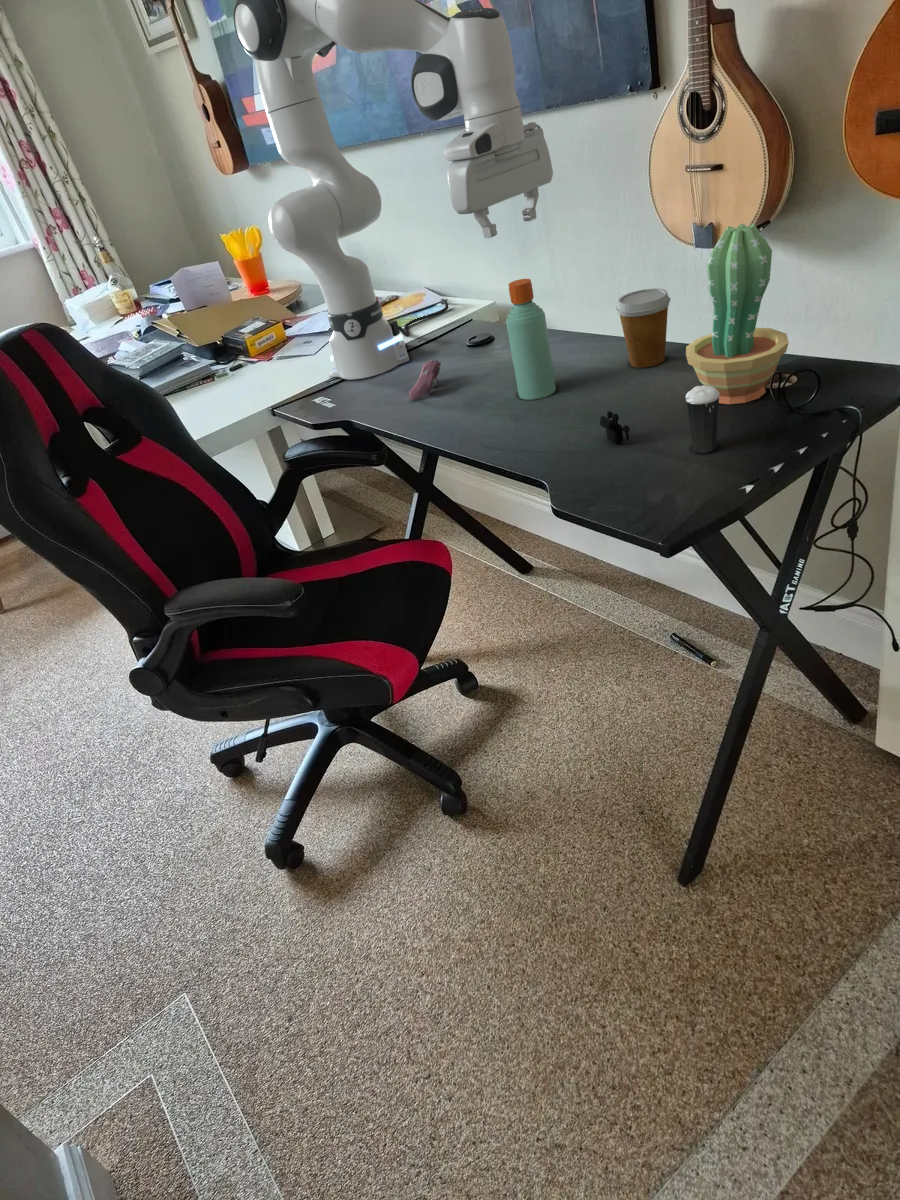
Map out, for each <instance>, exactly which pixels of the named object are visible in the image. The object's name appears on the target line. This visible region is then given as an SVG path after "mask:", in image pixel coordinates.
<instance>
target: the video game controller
mask: <svg viewBox="0 0 900 1200" xmlns="http://www.w3.org/2000/svg"><path fill="white" fill-rule="evenodd" d="M441 366H442V362H441V361H439V360H435V359H429V360H427V361H426V362H425V363H423V365H422V366H421V371H420V373H419V375H418V379H417V381H416V383H415V384H414V385H413V387H411V389H410V390H409V392H408V397H409V399H410V400H411V401H419V400H420V399H421V398H423V397H424V396H425V395H430V394H431V392H432V390H433V389H434V388H435V386H436V385H437V384H438V383H437V379H438V376H439V374H440V371H441Z"/></svg>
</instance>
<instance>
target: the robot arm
mask: <svg viewBox="0 0 900 1200" xmlns="http://www.w3.org/2000/svg"><path fill="white" fill-rule="evenodd" d="M233 8H234V9H233V25H234V26H233V27H234V30H235V34H236V36H237V39H238V41H239V43H240V45H241V47H242V48H243V49H244V51H245V53H246V54H247V55H248V56H249V57H251V58H252V59H253V60H254V65H255V72H256V77H257V83H258V88H259V92H260V96H261V97H260V98H261V100H262V104H263V107H264V111H265V114H266V117H267V120H268V123H269V127H270V129H271V132H272V136H273V138H274V141H275V145H276V148H277V151H278V153H279V155H280V156H281V158H282V159H283V160H284V161H285V162H286V163H288V164H289V165H292V166H294V167H298V168H301V169H303V170H304V171H305V172H306V173H307V175H308V176H309V177H310V179H311V181H312V183H313V185H311V186H307V187H304V188H301V189H298V190H294V191H293V192H290V193H288V194H286V195H285V196H283V197H281V198H280V199H278V200H277V201H275V202H274V203H272V204H271V206H270V209H269V212H268V226H269V231H270V232H271V236H272V238H273V239H274V241H275V243H277V244H278V246H280V248H282V249H283V250H285V252H288V253H290V254H292V255H294V256H296V257H298V258H299V259H301V260H302V261H303V262H304V263H305V264H306V266H307V267H309V269H310V271H312V273H313V274H314V276H315V278H316V280H317V283H318V285H319V287H320V290H321V294H322V296H323V299H324V302H325V305H326V308H327V314H326V315H327V318H328V319H327V321H328V323H329V326H330V329H331V330H332V334H331V336H329V337H330V338H329V339H328V343H329V348H330V352H331V355H330V362H333V365H334V368H333V369H331V370H330V376H331V377H332V378H340V379H343V380H351V381H352V380H362V379H366V378H367V379H368V378H371V377H375V376H377V375H380V374H384V373H386V372H388V371H390V370H392V369H394V368H396V367H398V366H399V365H402V364H405V363H407V362H409V361H410V356H409V353H408V351H407V347H406V344H405V341H404V340H403V336H405V337H408V336H409V330H408V327H409V326H411V325H413V324H415V323H417V322H421V321H424V320H426V319H429V318H433V317H437V316H439V315H442V314H444V313H445V312H447V311H448V310H449V303H448V301H447V300H446V299H445V298H441V299H440V304H441V305H444V308H442V309H440V310H437V311H434V312H432V313H428V314H425V315H422V316H423V317H421V316H419V317H420V318H418V317H416V318H417V319H415V318H413V319H414V320H413V319H411V320H412V321H411V320H409V321H410V322H409V321H408V322H409V323H407V322H406V323H407V324H406V323H405V324H404V325H403V326H400V325H399V324H398V320H387V319H386V318H385V317H384V312H383V310H382V309H383V308H382V305H381V304H380V301H379V298H378V296H376V291H375V289H374V285H373V282H372V278H371V273H370V269H369V267H368V266H367V264H366V263H365V262H364V261H362V260H361V259H360V258H358V257H355V256H351V255H347V254H345V252H344V251H343V250H342V248H341V246H340V242H339V240H340V239H343V238H346V237H349V236H351V235H354V234H356V233H360V232H361V231H364V230H365V229H366V228H368V227H370V226H371V225H372V224H374V223H375V222H376V221H378V219H379V218H380V216H381V211H382V198H381V197H382V196H381V194H380V190H379V188H378V187H377V185H376V183H375V182H374V181H373V180H372V179H371V178H370V177H369V176H368V175H366V174H364V173H362V172H361V171H359V170H357V169H356V168H355V167H353V165H352V164H351V163H350V162H349V161H348V160H347V159H346V158H345V156H344V154H343V153H342V152H341V150H340V148H339V146H338V145H337V142H336V141H335V138H334V135H333V133H332V131H331V128H330V124H329V122H328V119H327V115H326V112H325V109H324V105H323V101H322V99H321V96H320V92H319V89H318V85H317V83H316V79H315V77H314V73H313V61H314V58H315V56H316V55H318V56H319V57H321V58H326V56H328V54H329V53H330V52H331V50H332V49H333V48H334V47H335V46H337V45H338V46H340V47H342V48H345V49H346V50H349V51H352V52H354V53H358V54H359V53H360V54H369V53H378V52H387V51H412V52H417V53H420V55H419V56H418V57H417V59H416V60H415V62H414V65H413V67H412V70H411V76H410V77H411V78H410V83H411V84H410V86H411V87H410V88H411V93H412V97H413V101H414V103H415V104H416V106H417V108H418V110H419V111H420V112H421V114H422V115H423V116H424V117H426V118H427V119H428V120H430V121H433V122H438V121H439V122H441V121H448V120H451V119H454V118H457V117H462V116H463V120H464V128H463V129H462V130H460V132H459V133H458V134H457V135H456V136H455V137H454V138H453V139H452V140H450V141H449V142H448V143H447V144H446V145H445V146H444V148H443V154H444V158H445V161H447V162H450V163H449V165H448V167H447V183H448V189H449V195H450V200H451V205H452V208H453V209H454V211H455V212H456V213H457V214H458V215H470V214H473V216H474V219H475V220H476V222H477V223H478V224H479V226H480V227H481V229H482V234H483V238H485V239H491V238H493V237H496V236H497V235H498V231H497V224H496V223H492V222H491V221H490V219H489V217H488V215H490V210H489V207H491V206H494V205H497V204H499V203H502V202H504V201H507V200H509V199H512V198H514V197H517V196H520V195H523V197H524V198H526V199H525V207H524V208H523V209H522V210H521V213H522V220H523V222H532V221H534V220H536V219H537V217H538V216H537V209H536V207H537V205H538V204H537V203H538V199H539V196H540V193H539V187H542V186H544V185H547V184H549V183H551V182H552V179H553V176H554V171H553V164H552V160H551V159H552V158H551V155H550V151H549V147H548V144H547V140H546V139H545V133H544V130H543V127H541V126H540V125H539V124H538V123H537V122H535V121H531V122H528V123H526V124H524V123H523V116H522V110H521V109H522V108H521V103H520V99H519V98H518V95H517V92H516V86H515V83H516V82H515V80H516V67H515V60H514V55H513V49H512V44H511V39H510V35H509V31H508V27H507V24H506V21H505V19H504V17H503V15H502V13H501V12H500V11H499V10H497V9H495V8H493V7H478V8H469V9H465V10H461V11H458V12H456V13H455V14H453V15H452V16H451V17H448V16H447V15H445V14H443V13H441V12H440V11H438V10H436V9H434V8H433V7H431V6H429V5H427V4H425V3H423V2H421V1H419V0H235V4H234V7H233ZM441 301H442V302H441ZM426 315H427V316H426Z"/></svg>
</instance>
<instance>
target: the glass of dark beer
mask: <svg viewBox="0 0 900 1200" xmlns="http://www.w3.org/2000/svg"><path fill="white" fill-rule="evenodd" d="M679 390H680V391H681V393H682V395H683V396H684V399H685V405H686V410H687V411H686V412H687V416H688V422H689V429H690V437H691V444H692V451H693V452H695V453H697V454H707V453H711V452H713V451H715V450H717V437H718V434H717V433H718V419H719V417H718V416H719V407H720V403H719V397H720V393H719V391H718V390H717V389H716V388H714V387H710V386H707V385H703V384H702V385H695V386H694V387H693V388H692V389H691V390H689V391H687V393H686V394H685V393H684V391H683V389H682V388H681V387H679Z"/></svg>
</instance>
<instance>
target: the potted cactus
mask: <svg viewBox="0 0 900 1200" xmlns="http://www.w3.org/2000/svg"><path fill="white" fill-rule="evenodd" d="M710 252H711V253H710V255H709V258H708V261H707V263H706V268H707V269H706V270H707V281H708V283H707V284H708V292H709V295H710V298H711V302H712V305H713V314H712V315H713V317H712V331H711V332H712V333H709V334H706V335H703V336H700V337H697V338H696V339H695V340H693V341H692V342H691V343H689V344H688V345H686V346H685V357H686V360H687V364H688V365H690V366H692V367H693V369H694V372H695V374H696V376H697V379H698V381H699V382H700V384H702V386H703V385H707V386H710V387H714V388H716V389H717V390H718V391H719V393H720V397H719V404H722V405H723V404H724V405H735V404H736V405H738V404H745V403H746V404H747V403H749V402H752V401H755V400H758V399H760V398H761V397H762V396H763V395H765V394H766V393H767V391H766V385H767V383H768V382H769V380H770V379H771V378H772V376H773V375H774V374H775V372H776V371H777V367H778V365H779V363H780V360H781V357H782V356H783V355H784V354H786V353H787V350H788V346H789V343H790V342H789V339H788V334H787V333H786V332H782V331H780V330H777V329H774V328H771V327H756V326H757V322H758V318H759V312H760V309H761V304H762V300H763V298H764V295H765V292H766V290H767V289H768V285H769V283H770V281H771V271H772V269H771V267H772V256H773V249H772V248H771V246H770V245H769V243H768V241H767V240H766V238H765V237H764V235H763V234H762V233H761V232H760V230H759V228H757V226H756V224H754V223H752V224H750V225H746V224H745V223H740V224H739V225H738V226H737V227H734V226H730V225H729V226H727V227H726V229H724V231H723V233H722V234H721V236H720V237H719V239H718V241H717V242H716V244H715V246H714V247H713V249H712V251H710Z"/></svg>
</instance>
